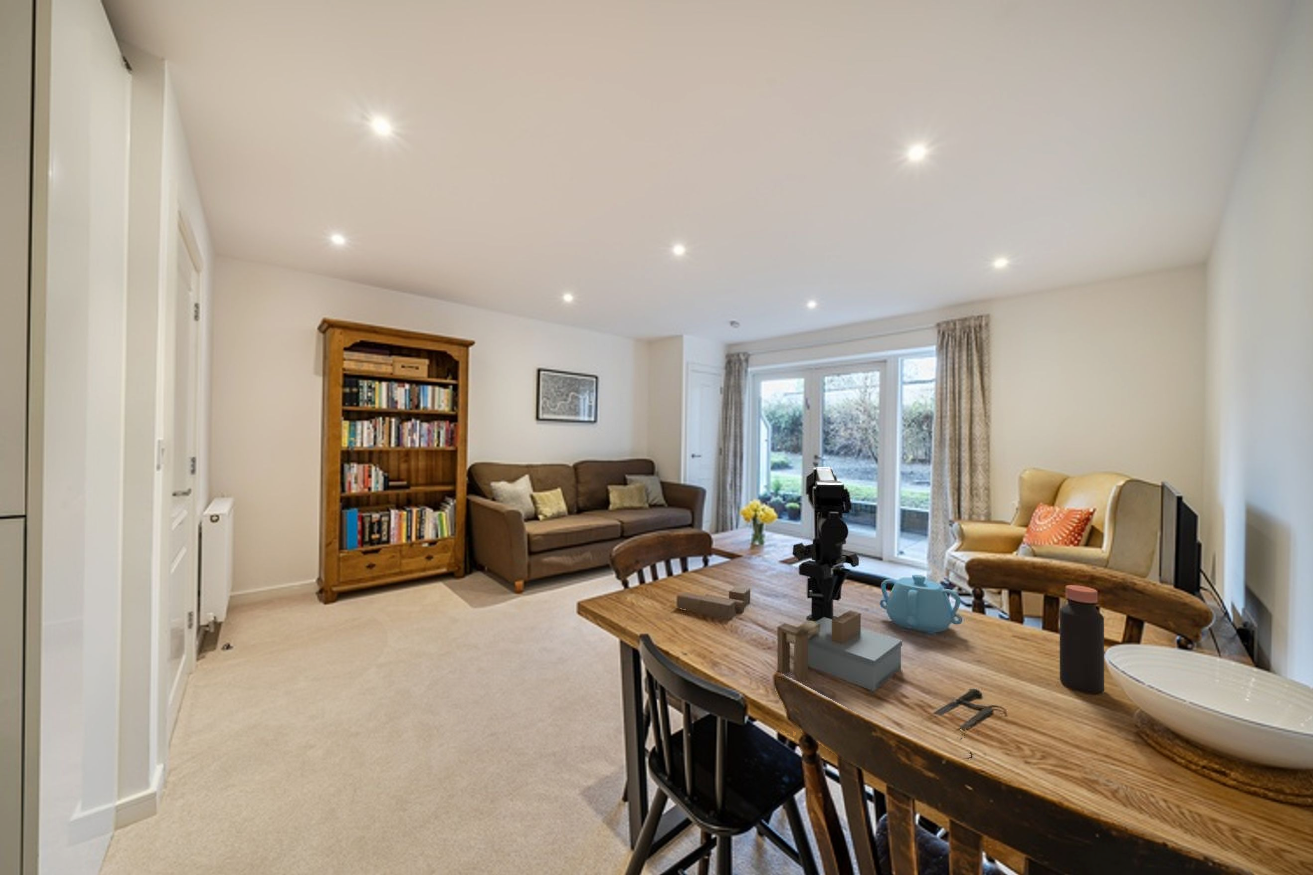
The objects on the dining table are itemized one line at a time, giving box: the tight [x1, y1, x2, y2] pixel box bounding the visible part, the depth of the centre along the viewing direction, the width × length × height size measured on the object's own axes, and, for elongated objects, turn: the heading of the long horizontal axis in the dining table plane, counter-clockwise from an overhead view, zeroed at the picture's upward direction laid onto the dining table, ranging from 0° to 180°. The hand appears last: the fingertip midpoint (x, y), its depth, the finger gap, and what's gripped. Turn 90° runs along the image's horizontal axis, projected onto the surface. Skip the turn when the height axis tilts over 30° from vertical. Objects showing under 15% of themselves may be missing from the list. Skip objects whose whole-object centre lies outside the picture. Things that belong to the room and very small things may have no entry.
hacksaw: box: [932, 688, 1007, 760], centre depth 85 cm, size 24×10×2 cm, turn 121°
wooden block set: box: [676, 586, 751, 621], centre depth 144 cm, size 17×6×18 cm
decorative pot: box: [879, 574, 963, 635], centre depth 129 cm, size 16×16×14 cm
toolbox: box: [776, 623, 902, 692], centre depth 105 cm, size 21×18×10 cm
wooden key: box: [786, 620, 820, 645], centre depth 106 cm, size 10×2×2 cm, turn 133°
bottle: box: [1059, 584, 1105, 695], centre depth 97 cm, size 7×7×20 cm
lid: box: [808, 610, 903, 667], centre depth 107 cm, size 14×18×7 cm
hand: (829, 599), depth 114 cm, fingers open, 3 cm apart
